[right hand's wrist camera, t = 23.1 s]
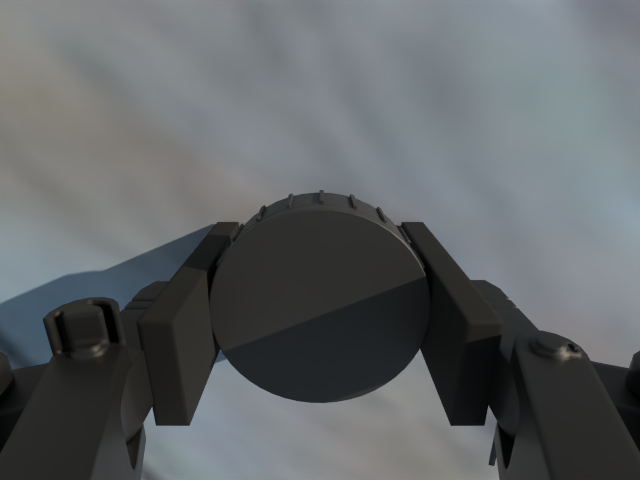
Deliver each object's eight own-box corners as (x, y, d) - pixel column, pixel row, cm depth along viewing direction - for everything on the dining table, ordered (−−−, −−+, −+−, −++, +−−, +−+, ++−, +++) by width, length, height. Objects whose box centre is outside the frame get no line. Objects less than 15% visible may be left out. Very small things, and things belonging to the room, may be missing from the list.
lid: (355, 147, 10) (361, 157, 9) (451, 314, 12) (471, 347, 11) (180, 256, 12) (157, 282, 10) (292, 394, 13) (288, 434, 12)
